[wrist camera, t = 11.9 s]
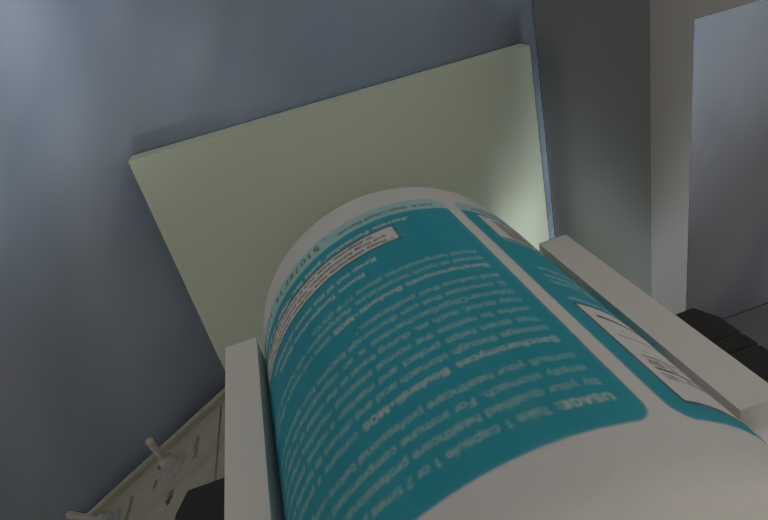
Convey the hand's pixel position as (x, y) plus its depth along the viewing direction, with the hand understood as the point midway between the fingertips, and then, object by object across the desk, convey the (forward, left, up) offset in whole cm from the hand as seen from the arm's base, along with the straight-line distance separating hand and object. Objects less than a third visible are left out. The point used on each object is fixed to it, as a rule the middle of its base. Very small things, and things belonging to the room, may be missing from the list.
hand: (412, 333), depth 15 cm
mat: (0, 0, -4) cm, 4 cm away
